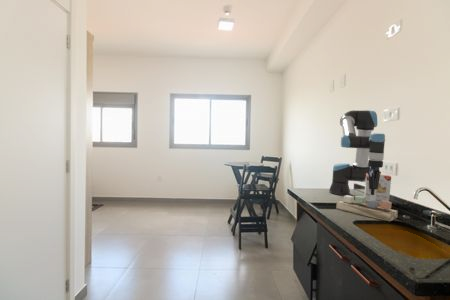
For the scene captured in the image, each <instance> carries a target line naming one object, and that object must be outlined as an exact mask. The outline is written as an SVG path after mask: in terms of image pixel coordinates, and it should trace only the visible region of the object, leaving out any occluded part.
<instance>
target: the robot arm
mask: <svg viewBox="0 0 450 300" xmlns="http://www.w3.org/2000/svg"><path fill="white" fill-rule="evenodd" d="M339 120H340V121H339V124H340V126H341V127H342V128H341V129H342V135H341V137H340V147H342V148H346V149H356V151H355V152H356V153H355V161H354V162H353V163H352V165H351V164H350V163H336V164H333V168H332V181H331V184H330V187H329V189H328V190H329V191H328V193H330V194H332V195H338V196H346V195H349V196H351V189H350V185H349V182H361V183H365V181H366V173H367V174H368V175H369V189H371V190H370V200H372V201H376V189H378V185H379V179H380V175H382V174H381V173H382V171H381V170H380V168H383V167H384V161H383V160H384V159H385V158H384V157H385V142H386V135H385V134H384V133H372V132H373V131H374V130H375V128H377V127H378V115H377V113H376V110H349V111H347V112H345V113H343V115H342V116H341V117H340V119H339ZM356 130H357V131H358V132H357V133H358V134H357V133H356Z"/></svg>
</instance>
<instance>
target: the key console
mask: <svg viewBox="0 0 450 300" xmlns="http://www.w3.org/2000/svg"><path fill="white" fill-rule="evenodd" d="M335 209H336V210H341V211H345V212H349V213H352V214H357V215H361V216H365V217H370V218H374V219H378V220H382V221H385V222H391V221H393V220H395V219H397V218H398V214H399V211H398V210H397V209H392V208H391V209H389V210H388V209H387V212H384V211H383V210H384V209H383V208H380V207H378V208H375V209H371V208H370V207H367V204H362V206H358V203H355V200H354V202H353V203H350V204H348V203H347V202H343V200H339V201H336V208H335Z"/></svg>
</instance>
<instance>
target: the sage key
mask: <svg viewBox="0 0 450 300" xmlns="http://www.w3.org/2000/svg"><path fill="white" fill-rule="evenodd" d="M354 201H355V203H358V206H362V204H364V203H365V201H366V197H364V195H363V196H361V195H356V196H354Z"/></svg>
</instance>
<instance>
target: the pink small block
mask: <svg viewBox="0 0 450 300" xmlns="http://www.w3.org/2000/svg"><path fill="white" fill-rule="evenodd" d="M392 203H393V202H392V201H390V200H389V201H384V200H383V201H380V208H383V209H384V210H383V211H384V212H387V209H388V210H389V209H392Z"/></svg>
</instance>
